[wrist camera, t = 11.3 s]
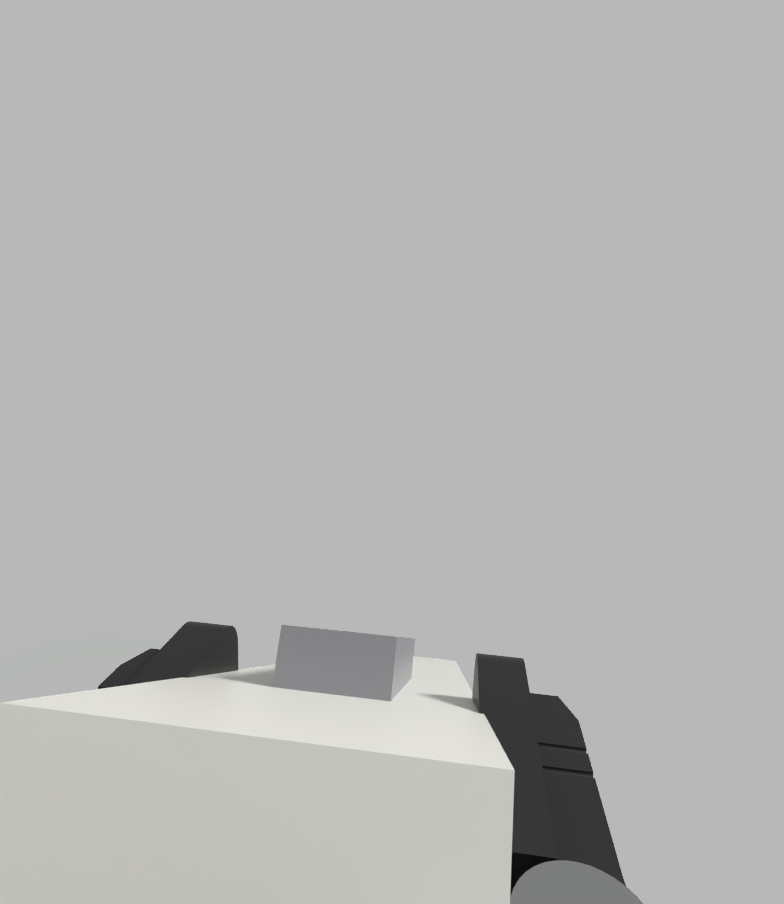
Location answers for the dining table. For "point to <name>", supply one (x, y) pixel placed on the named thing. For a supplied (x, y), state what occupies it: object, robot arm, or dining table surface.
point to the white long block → (261, 785)
